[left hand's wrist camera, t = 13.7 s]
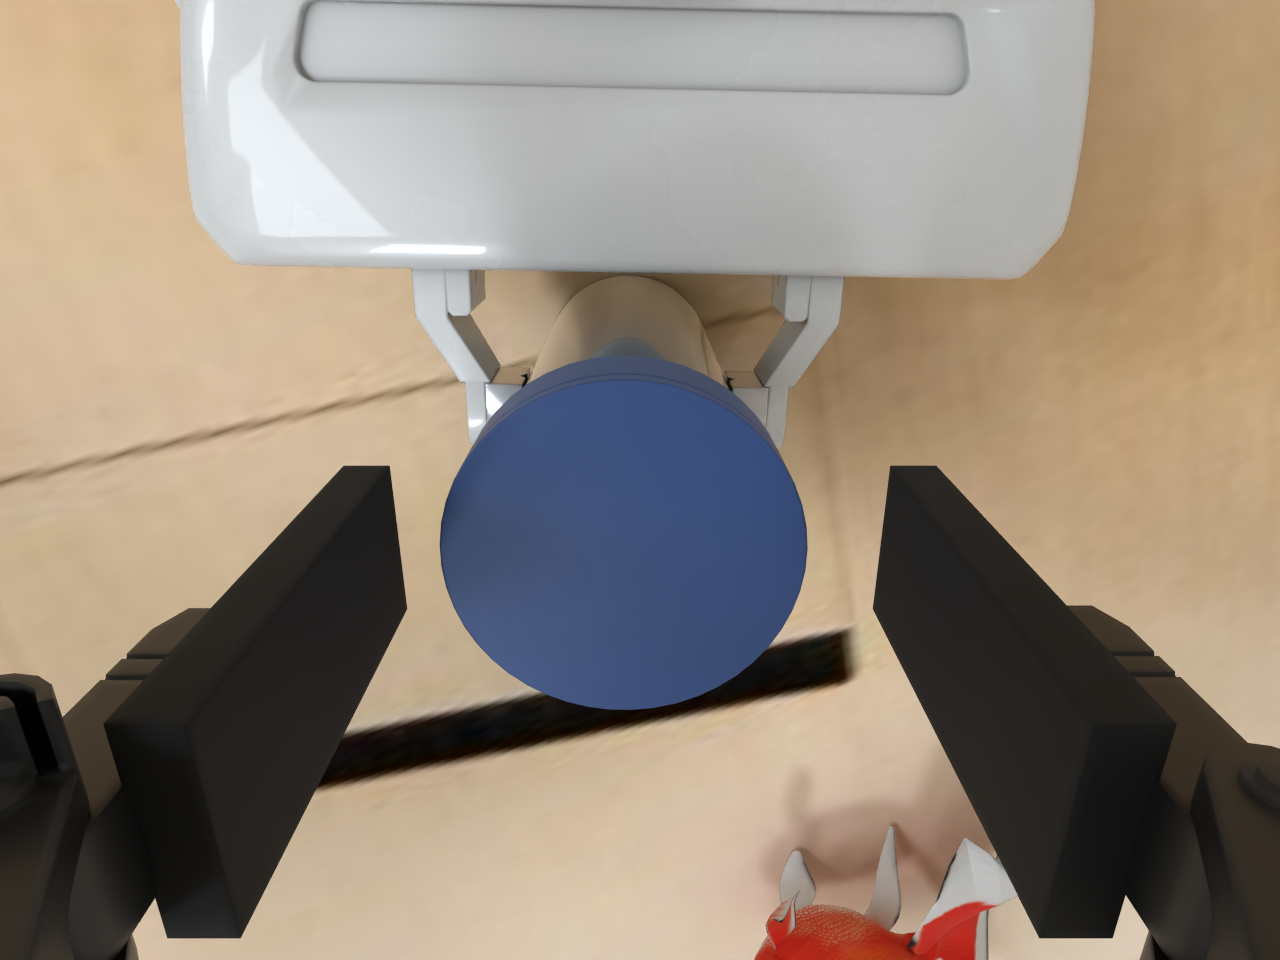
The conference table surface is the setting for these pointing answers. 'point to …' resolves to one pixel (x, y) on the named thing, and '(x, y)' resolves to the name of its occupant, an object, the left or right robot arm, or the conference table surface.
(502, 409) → the lid
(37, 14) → the conference table surface
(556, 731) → the conference table surface
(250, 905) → the left robot arm
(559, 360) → the jar
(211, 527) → the conference table surface
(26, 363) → the conference table surface
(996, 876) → the fish
